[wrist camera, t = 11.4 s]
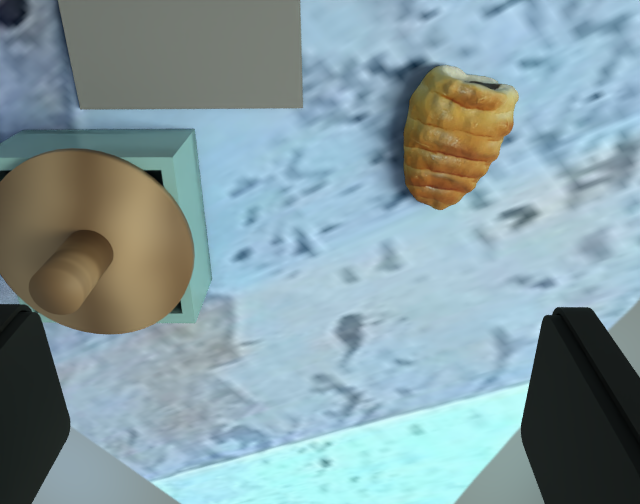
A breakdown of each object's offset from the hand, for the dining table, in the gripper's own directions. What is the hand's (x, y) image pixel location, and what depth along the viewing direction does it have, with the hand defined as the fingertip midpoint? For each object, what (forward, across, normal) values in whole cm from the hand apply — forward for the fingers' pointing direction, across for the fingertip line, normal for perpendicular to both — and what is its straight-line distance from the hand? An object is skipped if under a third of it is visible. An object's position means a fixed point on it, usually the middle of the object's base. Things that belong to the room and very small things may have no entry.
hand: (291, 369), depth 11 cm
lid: (+24, +15, +10) cm, 30 cm away
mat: (+30, +9, -5) cm, 32 cm away
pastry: (+31, -9, +4) cm, 32 cm away
